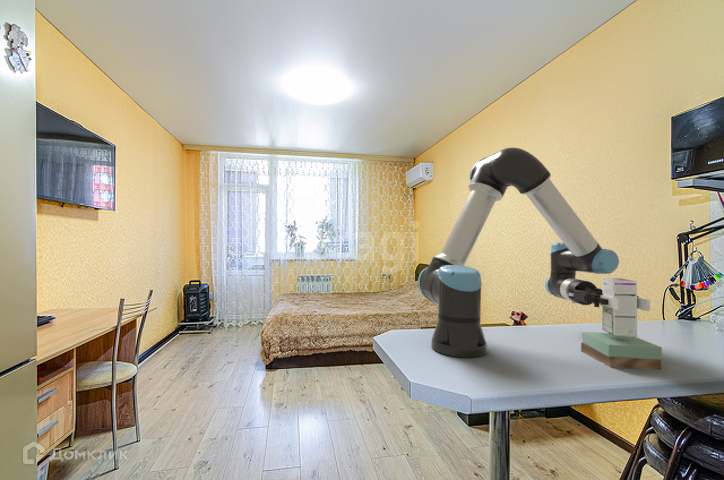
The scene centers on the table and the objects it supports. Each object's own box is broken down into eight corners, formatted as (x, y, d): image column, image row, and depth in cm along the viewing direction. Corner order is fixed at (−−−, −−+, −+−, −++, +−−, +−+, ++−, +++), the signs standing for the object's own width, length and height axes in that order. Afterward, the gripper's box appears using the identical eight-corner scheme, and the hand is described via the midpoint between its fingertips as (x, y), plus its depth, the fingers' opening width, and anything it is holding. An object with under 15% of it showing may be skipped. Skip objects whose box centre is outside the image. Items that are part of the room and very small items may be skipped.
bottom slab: (610, 369, 82) (610, 357, 82) (581, 353, 94) (581, 342, 94) (660, 371, 81) (661, 359, 81) (625, 354, 93) (625, 344, 93)
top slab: (608, 356, 82) (608, 344, 82) (582, 342, 94) (582, 331, 94) (661, 359, 81) (661, 347, 81) (628, 344, 93) (628, 334, 93)
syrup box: (638, 337, 84) (639, 280, 84) (612, 335, 85) (613, 279, 86) (625, 331, 90) (625, 278, 90) (600, 329, 91) (601, 277, 91)
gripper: (610, 304, 105) (674, 321, 82) (547, 302, 106) (593, 318, 83) (610, 280, 105) (674, 291, 82) (548, 279, 106) (593, 289, 83)
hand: (633, 305), depth 83 cm, fingers closed on syrup box, 6 cm apart
